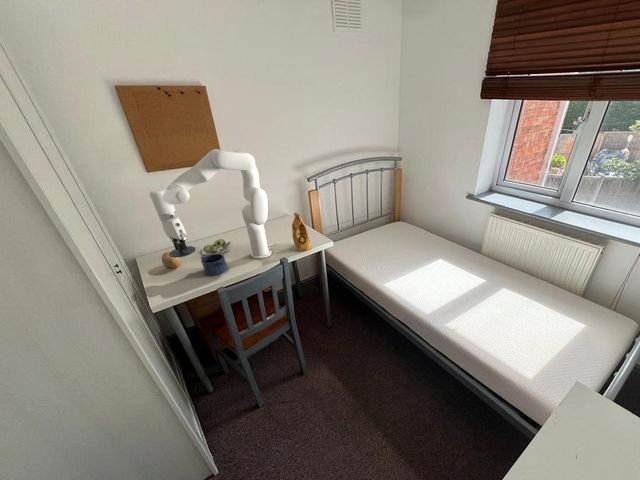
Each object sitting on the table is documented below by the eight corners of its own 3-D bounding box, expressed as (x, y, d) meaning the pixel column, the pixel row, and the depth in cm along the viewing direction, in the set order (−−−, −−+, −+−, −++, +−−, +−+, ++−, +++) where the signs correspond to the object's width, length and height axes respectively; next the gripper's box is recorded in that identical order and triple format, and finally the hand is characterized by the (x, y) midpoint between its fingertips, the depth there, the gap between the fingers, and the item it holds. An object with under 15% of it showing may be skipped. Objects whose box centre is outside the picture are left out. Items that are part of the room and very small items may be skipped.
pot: (214, 264, 172) (210, 251, 168) (235, 270, 166) (231, 256, 161) (197, 273, 163) (193, 259, 159) (219, 279, 157) (214, 266, 153)
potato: (168, 273, 163) (163, 261, 159) (161, 265, 172) (156, 253, 167) (187, 267, 169) (182, 255, 165) (179, 259, 177) (175, 247, 173)
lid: (185, 246, 159) (181, 234, 155) (201, 250, 154) (196, 238, 150) (164, 256, 149) (159, 243, 146) (180, 260, 145) (174, 247, 141)
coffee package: (296, 252, 183) (291, 219, 172) (293, 244, 193) (288, 212, 182) (311, 250, 186) (307, 217, 175) (308, 242, 196) (304, 210, 185)
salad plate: (234, 253, 183) (232, 247, 181) (203, 260, 176) (200, 253, 174) (230, 242, 198) (229, 236, 196) (201, 248, 191) (199, 241, 188)
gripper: (186, 215, 141) (198, 249, 150) (164, 211, 147) (178, 243, 157) (171, 220, 135) (185, 255, 145) (149, 216, 141) (164, 249, 151)
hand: (181, 249), depth 151 cm, fingers closed on lid, 3 cm apart
